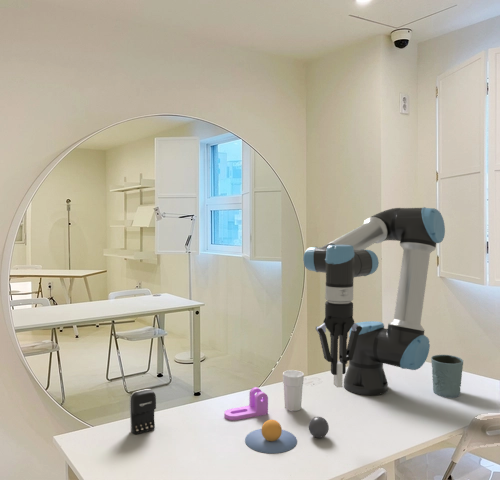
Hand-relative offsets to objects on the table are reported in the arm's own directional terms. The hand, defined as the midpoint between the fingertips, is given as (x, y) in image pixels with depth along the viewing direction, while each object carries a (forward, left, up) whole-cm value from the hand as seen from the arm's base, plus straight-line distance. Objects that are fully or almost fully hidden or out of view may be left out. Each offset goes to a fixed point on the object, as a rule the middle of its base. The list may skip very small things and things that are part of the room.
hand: (337, 385), depth 133 cm
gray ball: (+1, -6, -11) cm, 13 cm away
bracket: (-18, -23, -14) cm, 32 cm away
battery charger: (-12, -53, -14) cm, 56 cm away
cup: (-20, -7, -14) cm, 25 cm away
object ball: (0, -19, -11) cm, 22 cm away
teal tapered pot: (-22, +48, -14) cm, 55 cm away
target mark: (0, -19, -14) cm, 24 cm away
